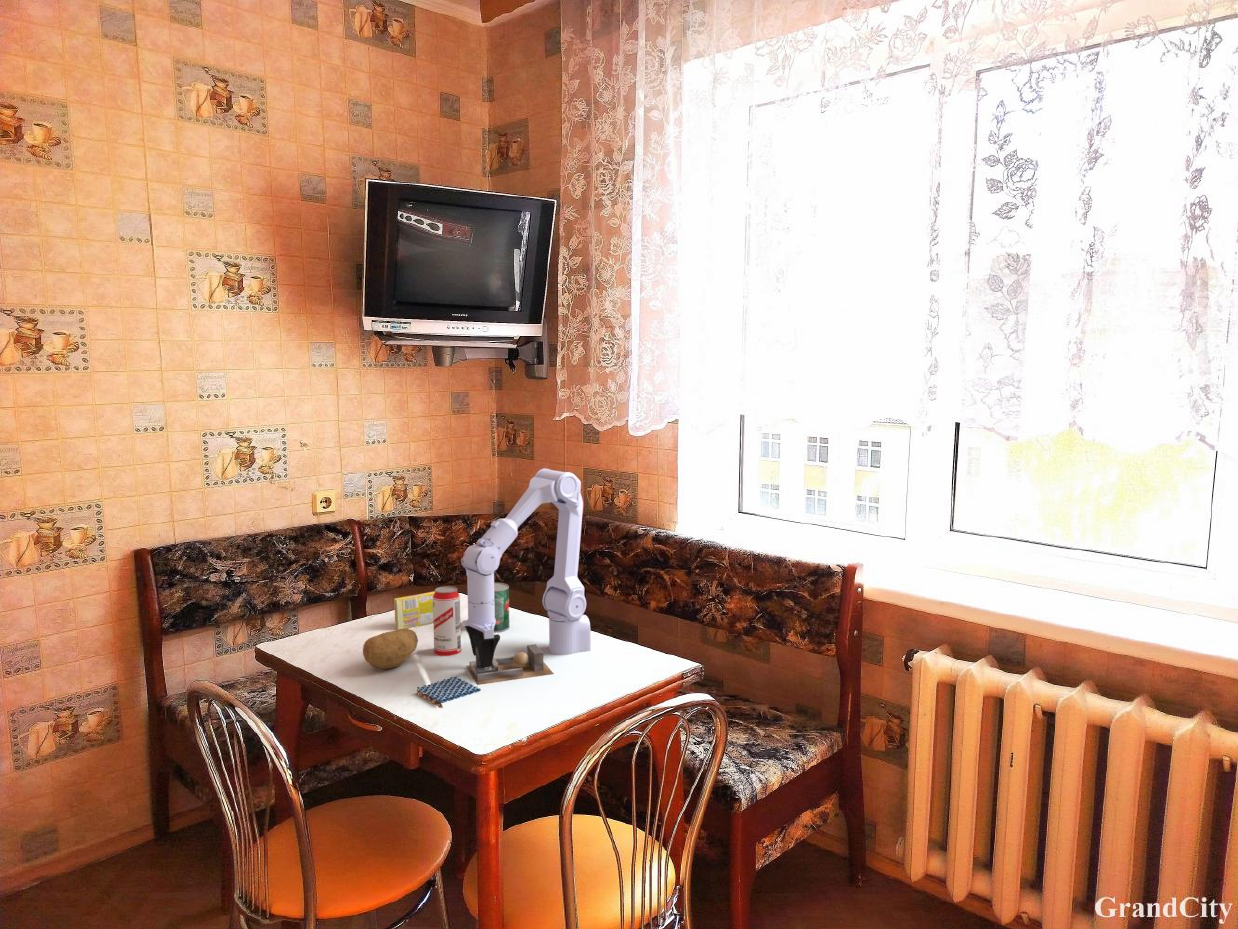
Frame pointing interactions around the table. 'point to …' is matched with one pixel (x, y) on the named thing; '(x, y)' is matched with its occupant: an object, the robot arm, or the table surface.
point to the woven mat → (446, 690)
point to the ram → (478, 669)
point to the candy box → (413, 610)
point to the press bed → (514, 668)
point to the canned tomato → (501, 607)
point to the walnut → (521, 660)
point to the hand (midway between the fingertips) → (482, 660)
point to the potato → (390, 648)
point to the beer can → (446, 621)
